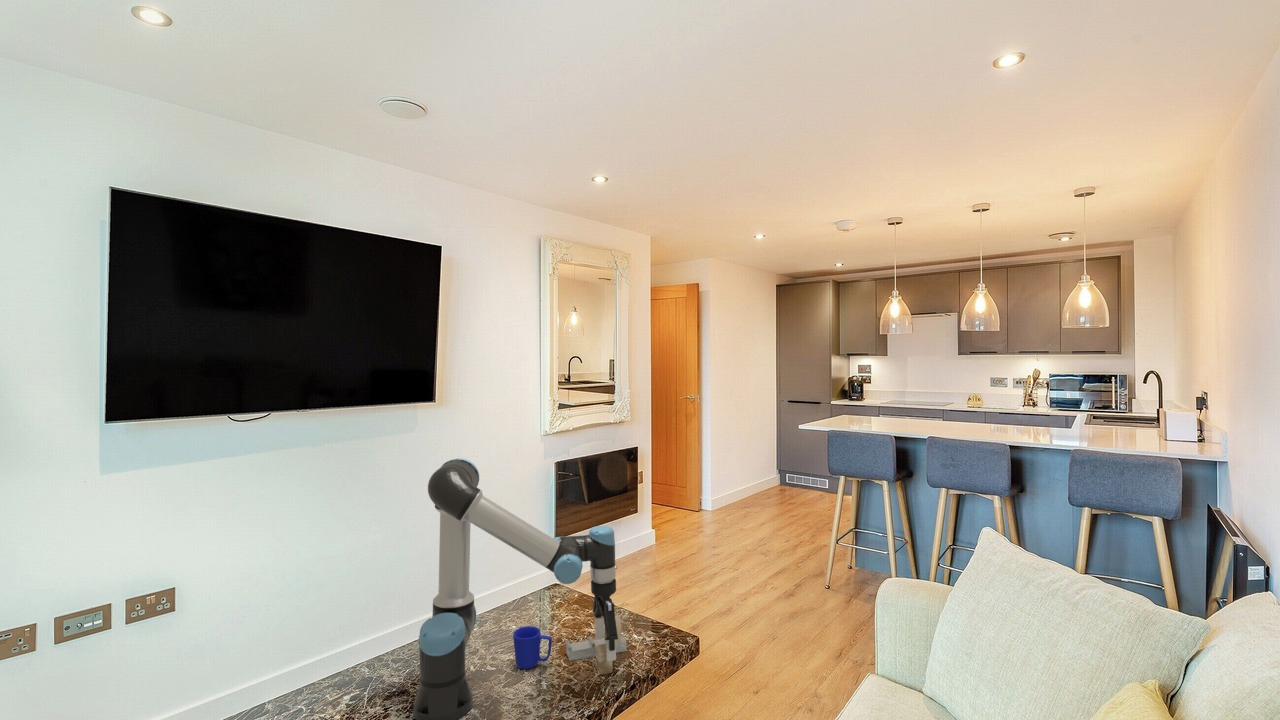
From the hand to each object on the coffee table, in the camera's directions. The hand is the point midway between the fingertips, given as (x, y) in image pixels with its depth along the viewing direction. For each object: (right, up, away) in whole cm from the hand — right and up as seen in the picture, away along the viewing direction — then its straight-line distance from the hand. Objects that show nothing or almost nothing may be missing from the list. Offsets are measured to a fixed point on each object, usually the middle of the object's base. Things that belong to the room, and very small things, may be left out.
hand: (605, 649), depth 176 cm
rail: (-3, -6, +11) cm, 13 cm away
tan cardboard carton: (0, -6, 0) cm, 6 cm away
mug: (-22, -7, +3) cm, 24 cm away
